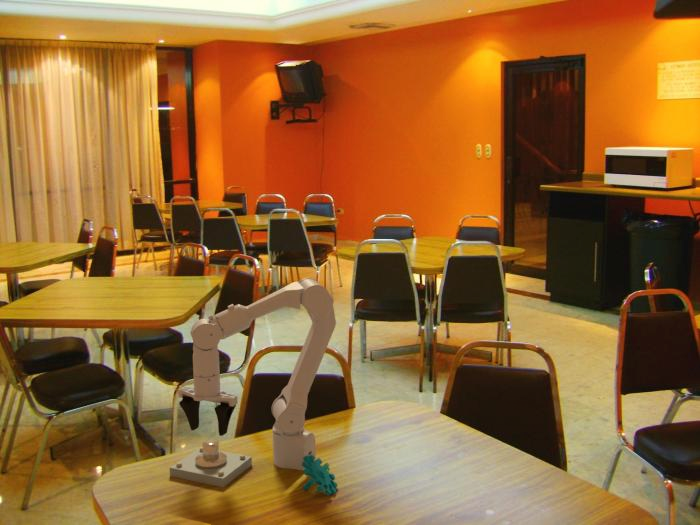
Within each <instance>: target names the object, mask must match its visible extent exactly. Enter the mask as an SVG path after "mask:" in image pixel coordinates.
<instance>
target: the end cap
mask: <svg viewBox="0 0 700 525" xmlns="http://www.w3.org/2000/svg"><path fill="white" fill-rule="evenodd" d="M219 445H220V444H219V441H217V440H215V439H209V440H206V441H203V442H202V447H203V453H202V454H200V455H198V456H197V457H196V459H195V462H196V466H198V467H199V468H203V469H214V468H218V467H221V466H223V465H225V464H226V462H227V456H226V454H224V453H222V452H219V451H220V446H219Z"/></svg>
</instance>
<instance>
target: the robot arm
mask: <svg viewBox="0 0 700 525" xmlns="http://www.w3.org/2000/svg"><path fill="white" fill-rule="evenodd" d="M301 305H302V306H303V308H304V309H305V310H306V312H307V314H308V316H309V318H310V320H311V323H312V324H311V326H310V328H309V331H308V333H307V336H306V338H305V341H304V342H303V346H302V348H301V351H300V353H299V356H298V358H297V361H296V363H295V366H294V368H293V370H292V372H291V376H290V378H289V380H288V383H287V384H286V386H285V387H283V389H282V390H281V392H280V394H279V396H278V397H276V398H275V399H274V400H273V403H271V404H272V405H271V414H272V416H273V417H274V419H275V422H274V424H273V426H272V452H273V453H272V455H273V456H272V457H273V465H274V466H276V467H278V468H282V469H293V470H297V471H302V472H304V470H305V469H306V468H305V467H303V466H302V465H301V464H302V462H303V461H304V460H303V458H304V457H305V456H310V455H313V456H314V457H315V459H314V461H315V462H316V460H317V459H316V436H315V434H314V433H313V432H311V431H308V430H307V429H305V425H306V424H305V423H306V416H305V415H306V411H307V407H308V395H309V392H310V391H311V387H312V385H313V382H314V380H315V378H316V375H317V372H318V370H319V367H320V365H321V363H322V361H323V358H324V355H325V353H326V350H327V349H328V345H329V343H330V340H331V339H332V336H333V333H334V331H335V328H336V325H337V319H336V314H335V309H334V299H333V297H332V296H331V294H330V293H329V290H328V289H327V288H326V287H325V286H323V285H322V284H320V282H319V280H317V279H315V278H312V277H304V278H302V279H301V280H299V281H294V282H291V283H289V284H287V285H286V286H283V287H282V288H280V289H278V290H276V291H274V292H272V293H270V294H268V295H266V296H264V297H262V298H260V299H258V300H257V301H255V302H252V303H251V304H249V305H242V304H239V303H238V304H235V305H234V304H233V303H231V304H230V305H227V309H225V310H223V311H220V312H218V313H216V314H214V315H213V314H212V313H211V314H208V316H207V318H199V319H198V320H196V321H195V322H194V324H192V326H191V330H190V332H189V333H190V336H191V338H192V342H193V346H192V351H193V354H192V366H193V367H192V371H193V387H191V386H189V387H188V386H182V387H180V388H178V389H177V391H178V392H177V393H178V394H177V396H178V398H181V399H182V400H181V399H180V401H179V402H178V403H179V406H180V408H181V409H182V410H183V412H184V413H185V416H186V418H187V421H188V424H189V427H190V431H195V430H197V429H199V426H200V405H201V402H203V401H205V402H210V403H211V402H212V403H216V404H217V403H218V404H219V405H217V406H215V407H214V411H215V415H216V418H217V428H218V430H217V431H218V435H219V436H220V437H223V436H224V435H226V434H227V433H228V430H229V429H228V428H229V424H230V420H231V417H232V415H233V413H234V410H235V408H236V407H237V405H238V395H236V394H232V393H229V392H227V391H225V390H222V389H221V376H220V372H221V371H220V352H219V347H218V345H219V343H220V341H221V340H225V339H227V338H229V337H232V336H234V335H237V334H238V333H240V332H243V331H246V330H247V329H249V328H250V326H252V325H251V324H252V322H253V321H254V320H256V319H258V318H261V317H263V316H266V315H269V314H270V313H272V312H275V311H278V310H280V309H283V308H287V307H288V308H292V309H297V310H301ZM304 475H305V474H304V473H303V474H302V476H304Z"/></svg>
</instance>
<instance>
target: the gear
mask: <svg viewBox="0 0 700 525" xmlns="http://www.w3.org/2000/svg"><path fill="white" fill-rule="evenodd" d="M314 459H315V457H314V456H313V455H310V456H305V457H304V458H303V460H304V461H303V462H302V464H301V465H302V466H303V467H305V468H306V469H305V470H304V471H303V474H304V475H305V476H306V477H307V476H308V477H310V479H309V480H307V482H305V484H303V486H302V490H304V491H306V490H308V489H309V488H310V487H311V486H313V485H315V484H318V486H316V489H317V491H319V493H322V492H323V491H324V494H325V495H326V496H330V495H333V494H335V493H336V492H337V489H336V488H337V487H338V483H337V482H336V481H334V480H335V479H336V476H335V475H334V473H330V471H331V469H330V463H328V462H325V463H324V464H323V465H322V463H323V461H322V459H321V458H320V457H317V459H316V461H314Z"/></svg>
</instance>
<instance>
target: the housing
mask: <svg viewBox="0 0 700 525" xmlns="http://www.w3.org/2000/svg"><path fill="white" fill-rule="evenodd" d="M219 452H222V453H224V454H226V456H227V462H226V464H225V465H223V466H221V467H218V468H214V469H203V468H199V467H198V466H196V462H195V459H196V457H197V456H198V455H200V454H202V453H203V446H200V447H198V448H197V449H195V450H194V451H192V452H190V454H188V455H187V456H185V457H183V458H182V459H180V460H178V461H177V462H176V463H174V464H172V465H171V466H170V467H169V476H170V477H172V478H178V479H182V480H186V481H192V482H196V483H201V484H206V485H210V486H215V487H219V488H225V487H226V486H227V485H228V484H230V483H231V482H232V481H233V480H235V479H236V478H237V477H239V476H241V474H243V473H244V472H245V471H247V470H248V469H249V468H251V467H252V466H253V460H252V458H253V456H249V455H245V454H239V453H233V452H230V451H228V452H227V451H223V450H219Z"/></svg>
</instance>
